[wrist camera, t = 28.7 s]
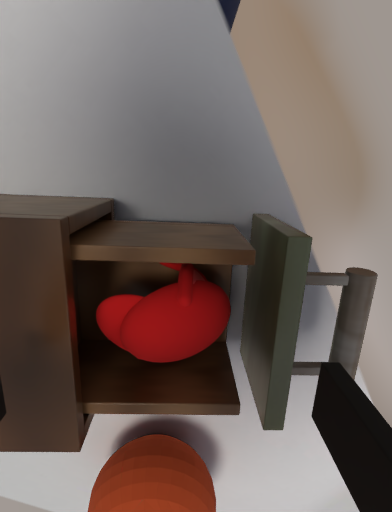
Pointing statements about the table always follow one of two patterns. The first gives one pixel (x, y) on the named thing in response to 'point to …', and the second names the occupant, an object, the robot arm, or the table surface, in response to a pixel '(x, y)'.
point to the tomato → (154, 479)
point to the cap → (167, 317)
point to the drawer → (253, 329)
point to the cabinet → (41, 321)
